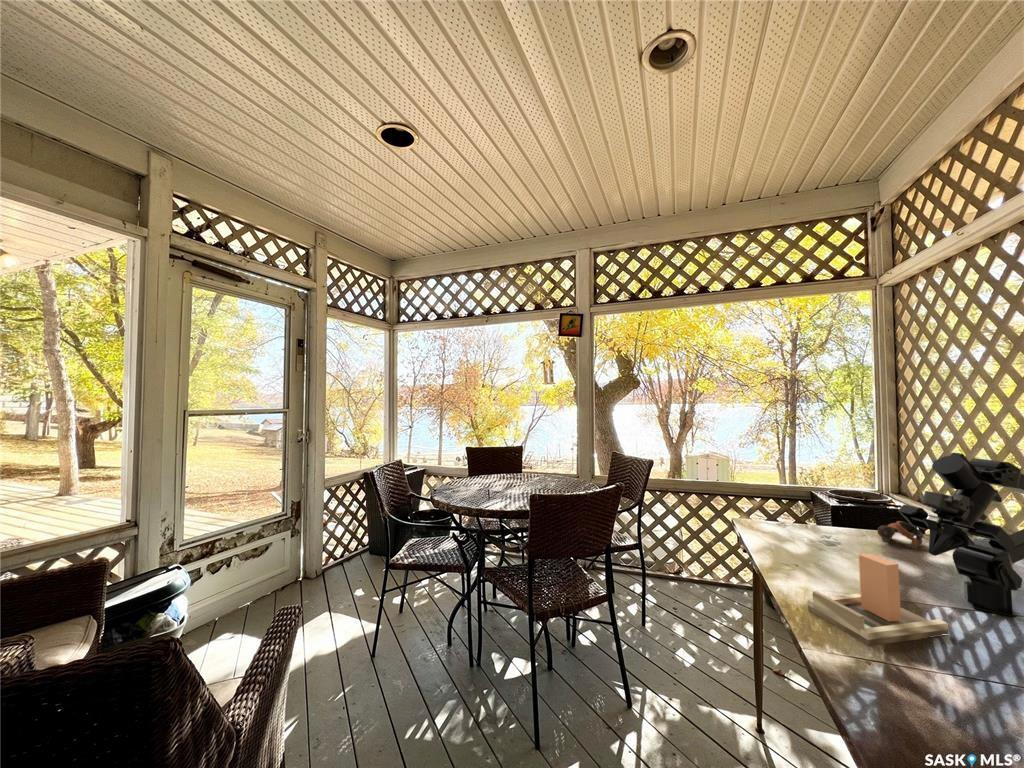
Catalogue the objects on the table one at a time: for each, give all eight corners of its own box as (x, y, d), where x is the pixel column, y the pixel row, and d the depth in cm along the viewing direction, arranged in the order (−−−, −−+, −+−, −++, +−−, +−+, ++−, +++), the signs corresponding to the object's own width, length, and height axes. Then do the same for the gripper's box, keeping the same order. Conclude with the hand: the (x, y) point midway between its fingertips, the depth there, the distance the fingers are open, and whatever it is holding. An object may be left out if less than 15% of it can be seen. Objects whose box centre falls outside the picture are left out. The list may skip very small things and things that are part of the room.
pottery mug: (895, 538, 141) (910, 521, 138) (918, 560, 132) (935, 542, 129) (863, 530, 141) (877, 513, 137) (884, 552, 132) (900, 534, 129)
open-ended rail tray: (878, 601, 98) (877, 581, 98) (948, 635, 84) (947, 610, 84) (807, 609, 95) (806, 588, 95) (868, 645, 81) (867, 620, 82)
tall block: (872, 606, 93) (869, 553, 94) (901, 620, 87) (898, 564, 88) (861, 607, 93) (858, 554, 93) (889, 621, 87) (886, 565, 87)
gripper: (902, 472, 103) (867, 518, 101) (1000, 488, 85) (960, 545, 83) (930, 501, 104) (895, 548, 102) (1032, 523, 86) (993, 581, 84)
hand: (931, 554), depth 93 cm, fingers closed
